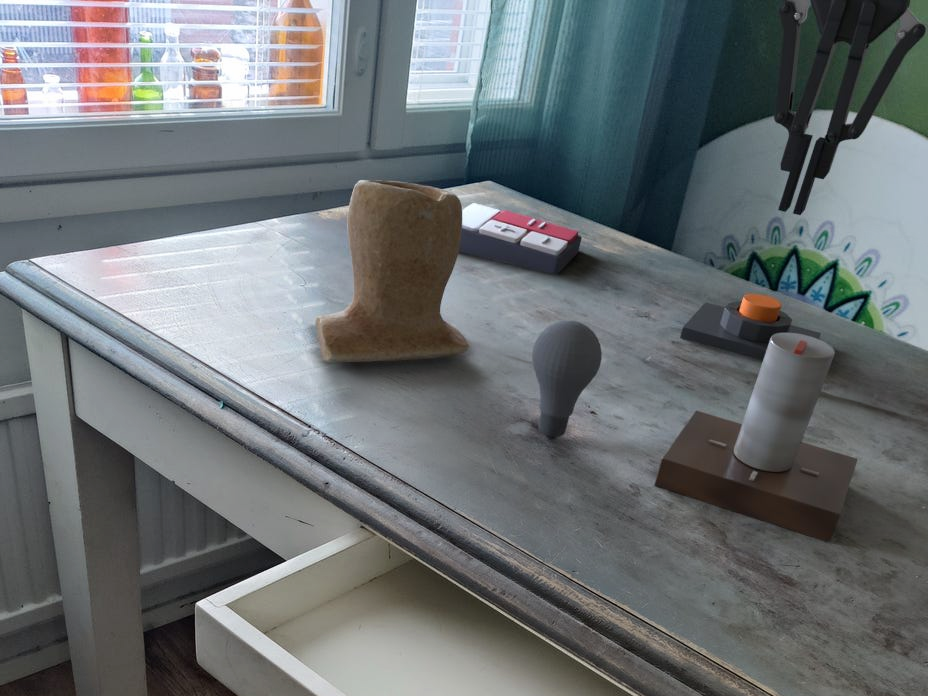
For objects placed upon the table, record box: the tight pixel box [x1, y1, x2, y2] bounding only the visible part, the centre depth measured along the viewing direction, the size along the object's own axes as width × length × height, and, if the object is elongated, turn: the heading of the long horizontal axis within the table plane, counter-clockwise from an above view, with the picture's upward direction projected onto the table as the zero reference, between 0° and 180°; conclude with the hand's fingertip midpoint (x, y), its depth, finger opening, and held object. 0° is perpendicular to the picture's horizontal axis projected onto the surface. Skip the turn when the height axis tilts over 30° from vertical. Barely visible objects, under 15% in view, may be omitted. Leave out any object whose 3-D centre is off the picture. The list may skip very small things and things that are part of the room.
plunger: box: [739, 293, 782, 322], centre depth 103 cm, size 4×4×2 cm
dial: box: [734, 333, 836, 472], centre depth 77 cm, size 5×5×10 cm
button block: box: [679, 300, 822, 362], centre depth 105 cm, size 13×10×4 cm
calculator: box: [458, 203, 582, 275], centre depth 120 cm, size 11×4×15 cm
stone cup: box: [315, 179, 470, 363], centre depth 90 cm, size 15×12×15 cm
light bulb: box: [531, 319, 603, 440], centre depth 81 cm, size 6×6×10 cm
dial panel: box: [654, 410, 858, 543], centre depth 81 cm, size 14×11×3 cm
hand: (791, 209), depth 97 cm, fingers closed
